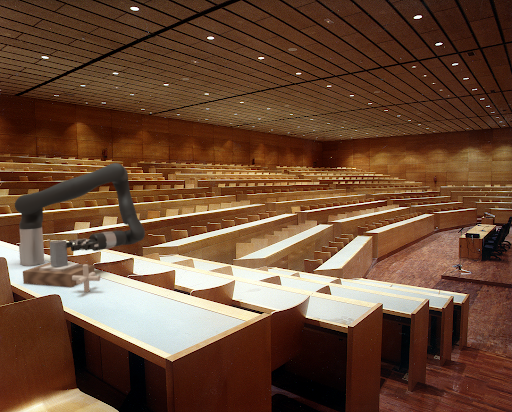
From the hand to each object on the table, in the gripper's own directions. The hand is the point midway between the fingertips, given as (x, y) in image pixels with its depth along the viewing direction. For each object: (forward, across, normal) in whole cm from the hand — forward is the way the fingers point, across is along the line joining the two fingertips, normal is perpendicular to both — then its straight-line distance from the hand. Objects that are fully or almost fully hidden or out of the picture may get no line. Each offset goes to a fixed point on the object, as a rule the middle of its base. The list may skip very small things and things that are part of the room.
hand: (66, 247), depth 154 cm
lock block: (+3, 0, +7) cm, 8 cm away
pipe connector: (+4, +22, +13) cm, 26 cm away
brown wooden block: (+3, 0, +13) cm, 13 cm away
